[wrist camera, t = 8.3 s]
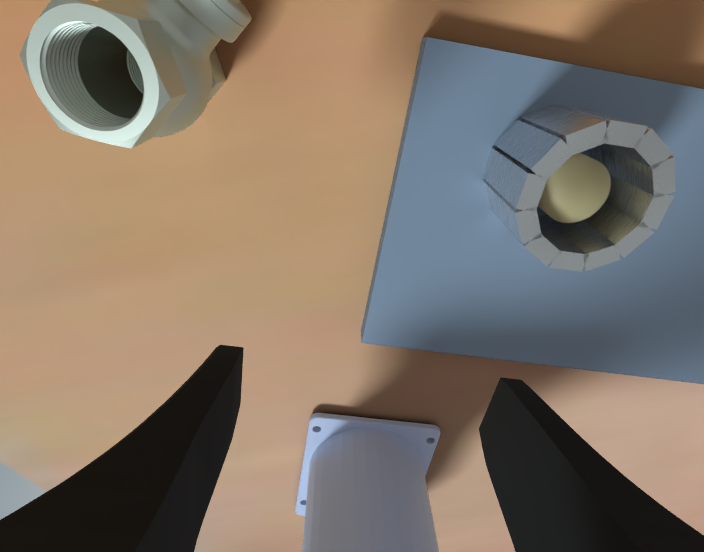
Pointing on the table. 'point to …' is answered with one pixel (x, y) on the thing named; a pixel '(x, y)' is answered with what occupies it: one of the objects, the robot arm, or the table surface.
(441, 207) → the plate
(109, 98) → the valve
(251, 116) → the table surface
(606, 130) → the grey hollow cylinder
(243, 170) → the table surface
